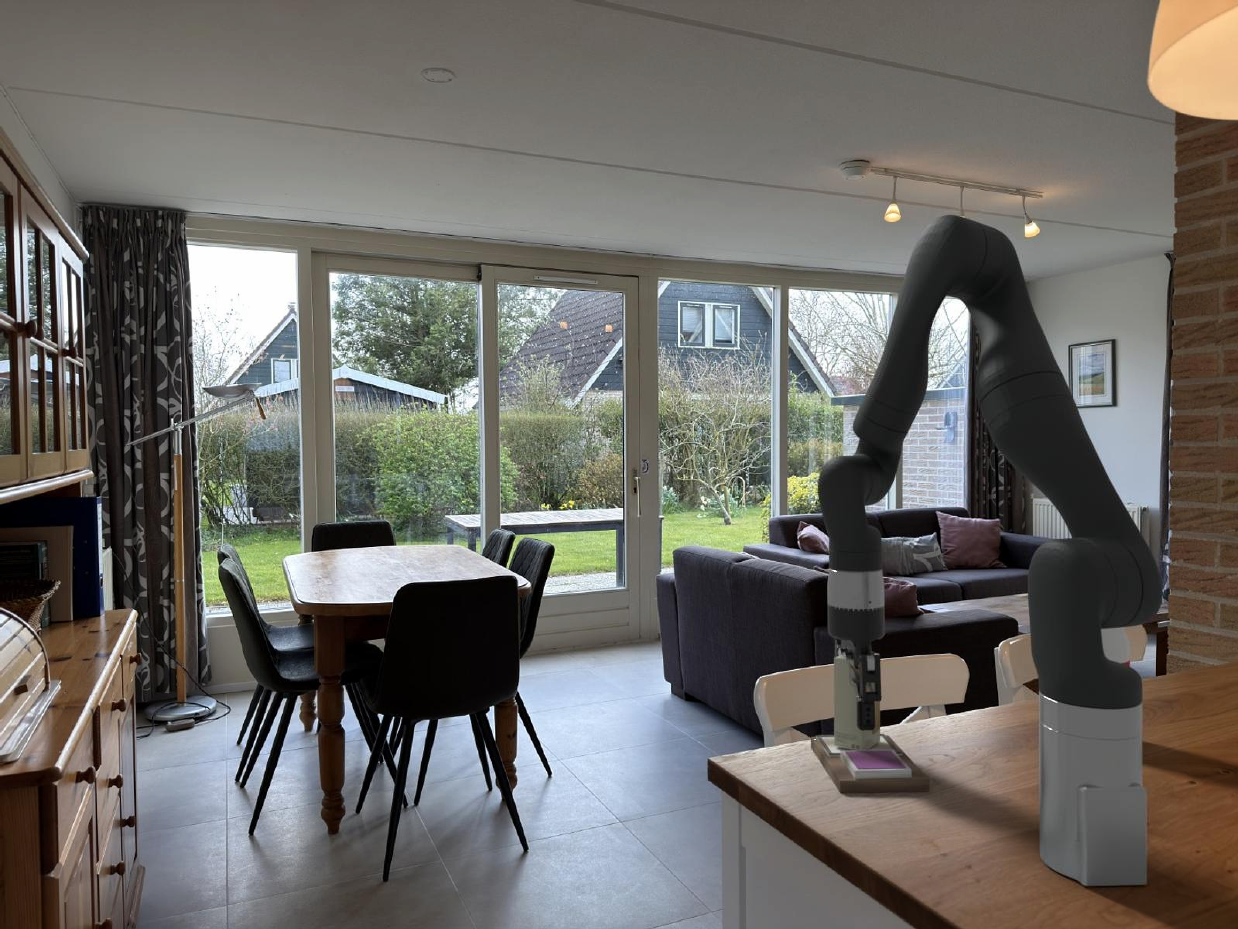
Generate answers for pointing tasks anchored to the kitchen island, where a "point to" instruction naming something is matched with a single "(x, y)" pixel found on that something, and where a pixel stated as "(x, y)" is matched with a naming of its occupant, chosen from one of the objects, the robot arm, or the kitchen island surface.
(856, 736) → the skincare box
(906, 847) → the kitchen island surface
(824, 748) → the stamping board
